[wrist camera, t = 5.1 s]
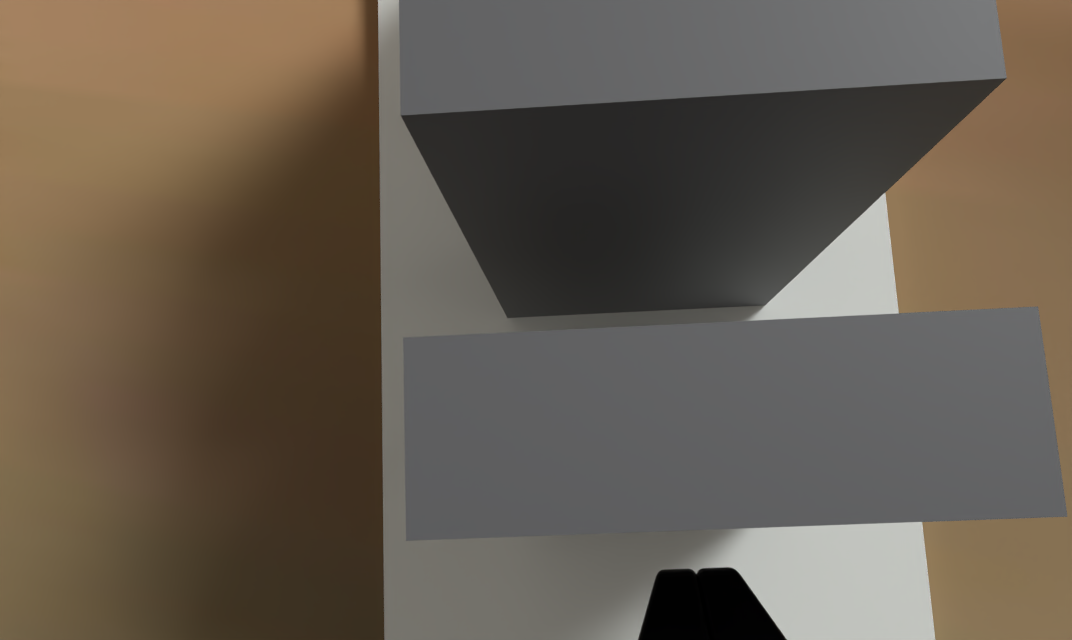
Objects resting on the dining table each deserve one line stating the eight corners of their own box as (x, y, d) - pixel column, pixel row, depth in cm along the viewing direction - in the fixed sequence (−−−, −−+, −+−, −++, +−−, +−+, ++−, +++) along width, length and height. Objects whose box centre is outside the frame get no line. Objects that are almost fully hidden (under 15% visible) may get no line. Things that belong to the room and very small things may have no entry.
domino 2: (781, 489, 16) (1066, 516, 7) (513, 500, 17) (406, 541, 7) (773, 403, 17) (1037, 307, 7) (511, 415, 17) (403, 338, 7)
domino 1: (765, 304, 17) (1006, 78, 7) (507, 317, 17) (400, 115, 7) (758, 225, 17) (982, -99, 7) (504, 239, 18) (398, -58, 8)
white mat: (930, 702, 16) (943, 711, 16) (392, 716, 17) (385, 725, 16) (826, -249, 20) (833, -271, 19) (381, -213, 20) (375, -233, 20)
